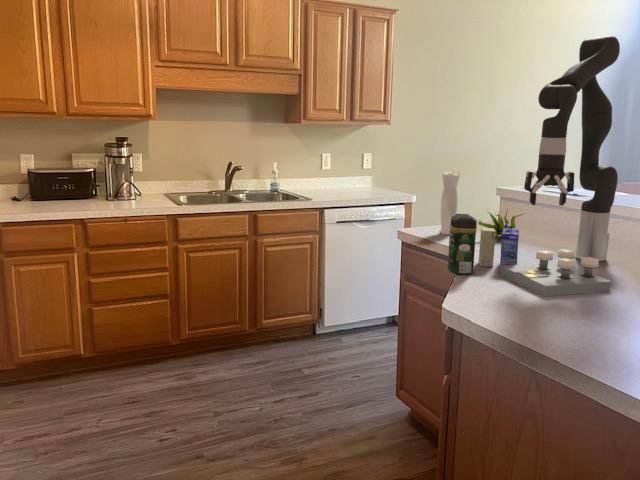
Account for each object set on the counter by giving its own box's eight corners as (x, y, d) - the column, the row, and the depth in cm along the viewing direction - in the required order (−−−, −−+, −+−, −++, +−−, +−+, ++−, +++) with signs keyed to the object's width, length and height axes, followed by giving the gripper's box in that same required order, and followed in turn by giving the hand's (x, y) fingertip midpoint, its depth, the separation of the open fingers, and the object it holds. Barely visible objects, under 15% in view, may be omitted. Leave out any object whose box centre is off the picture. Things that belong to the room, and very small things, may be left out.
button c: (544, 265, 175) (546, 250, 174) (554, 269, 171) (556, 253, 170) (531, 266, 174) (533, 250, 173) (541, 270, 170) (543, 254, 169)
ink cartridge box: (499, 262, 192) (503, 221, 189) (516, 264, 190) (520, 222, 187) (498, 269, 182) (502, 226, 179) (516, 271, 181) (520, 227, 178)
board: (559, 271, 182) (560, 261, 181) (610, 291, 161) (611, 280, 160) (500, 275, 176) (500, 264, 175) (544, 296, 155) (546, 285, 155)
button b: (588, 272, 168) (590, 256, 167) (600, 277, 164) (602, 260, 162) (575, 273, 167) (577, 257, 166) (587, 277, 162) (589, 261, 161)
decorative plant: (462, 245, 218) (464, 208, 215) (497, 235, 239) (500, 200, 236) (505, 253, 206) (508, 214, 202) (539, 241, 227) (542, 205, 223)
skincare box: (493, 267, 185) (496, 231, 182) (479, 266, 186) (482, 230, 183) (491, 262, 191) (494, 227, 188) (478, 261, 192) (481, 227, 189)
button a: (566, 264, 177) (568, 249, 176) (576, 268, 173) (578, 252, 172) (553, 265, 176) (555, 249, 175) (563, 269, 172) (565, 253, 171)
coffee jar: (445, 267, 184) (449, 211, 180) (470, 268, 184) (474, 212, 180) (449, 275, 175) (453, 216, 171) (474, 276, 174) (479, 217, 170)
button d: (566, 274, 166) (568, 257, 165) (577, 278, 161) (579, 261, 160) (552, 275, 165) (554, 258, 164) (563, 279, 160) (565, 262, 159)
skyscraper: (459, 236, 236) (464, 169, 230) (440, 235, 236) (444, 169, 230) (455, 232, 244) (459, 168, 238) (436, 231, 244) (440, 167, 238)
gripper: (571, 152, 174) (566, 203, 177) (525, 151, 175) (520, 202, 178) (580, 153, 166) (575, 207, 170) (532, 153, 167) (527, 206, 171)
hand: (547, 205), depth 174 cm, fingers open, 8 cm apart
